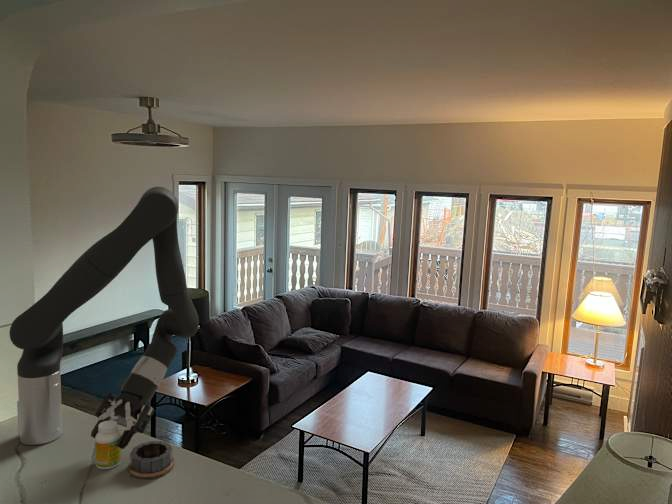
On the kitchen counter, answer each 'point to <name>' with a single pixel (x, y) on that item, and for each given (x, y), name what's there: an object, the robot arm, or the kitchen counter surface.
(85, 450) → the kitchen counter surface
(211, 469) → the kitchen counter surface
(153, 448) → the collar mount
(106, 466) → the supplement bottle
